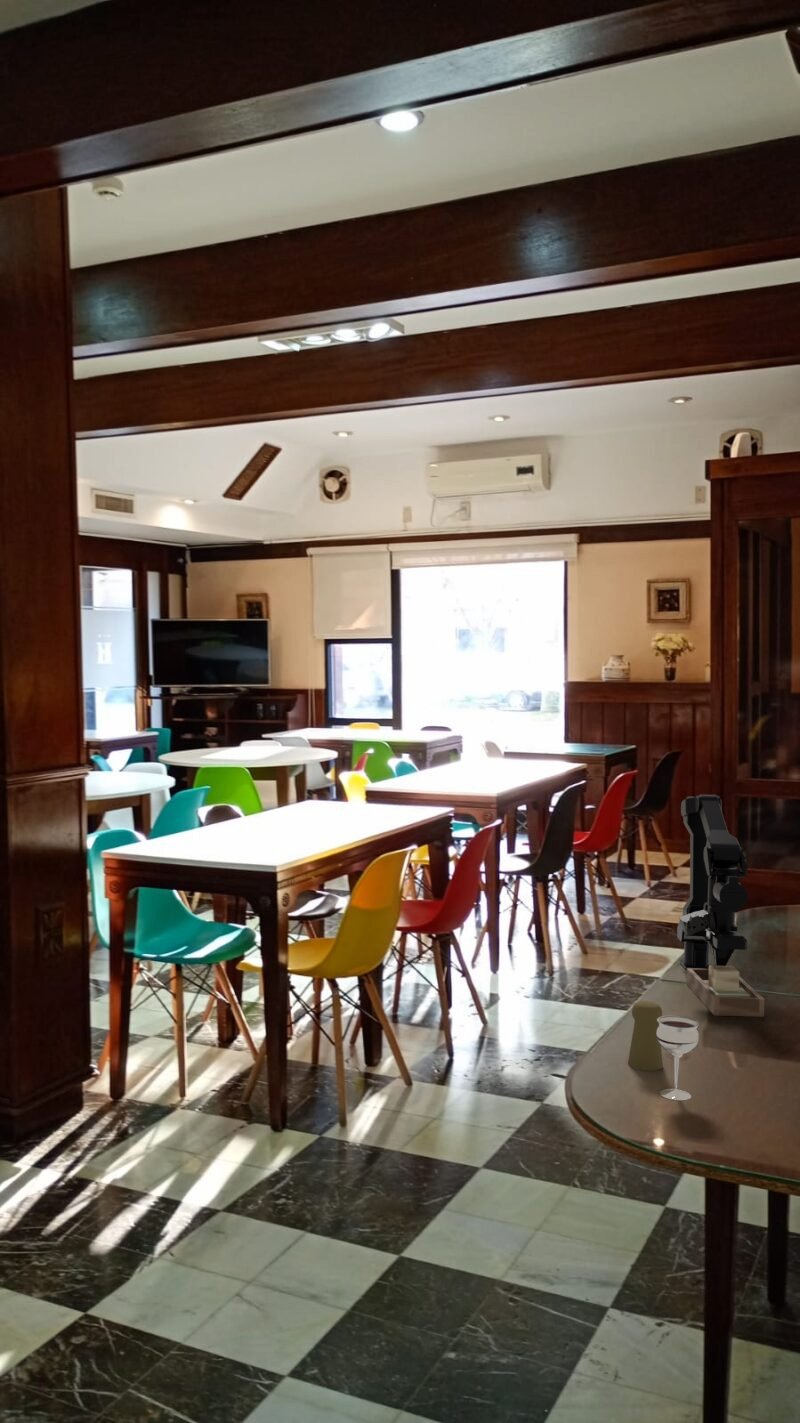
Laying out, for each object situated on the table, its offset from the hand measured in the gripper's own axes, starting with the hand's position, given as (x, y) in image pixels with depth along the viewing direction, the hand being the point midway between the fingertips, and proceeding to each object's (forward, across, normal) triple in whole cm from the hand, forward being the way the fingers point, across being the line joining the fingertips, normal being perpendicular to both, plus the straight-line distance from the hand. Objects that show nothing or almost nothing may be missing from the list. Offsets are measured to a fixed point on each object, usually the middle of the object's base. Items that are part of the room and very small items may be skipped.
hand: (719, 972), depth 247 cm
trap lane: (+5, +4, 0) cm, 6 cm away
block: (+2, +4, 0) cm, 4 cm away
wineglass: (+5, +59, -23) cm, 64 cm away
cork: (+5, +45, -25) cm, 52 cm away
